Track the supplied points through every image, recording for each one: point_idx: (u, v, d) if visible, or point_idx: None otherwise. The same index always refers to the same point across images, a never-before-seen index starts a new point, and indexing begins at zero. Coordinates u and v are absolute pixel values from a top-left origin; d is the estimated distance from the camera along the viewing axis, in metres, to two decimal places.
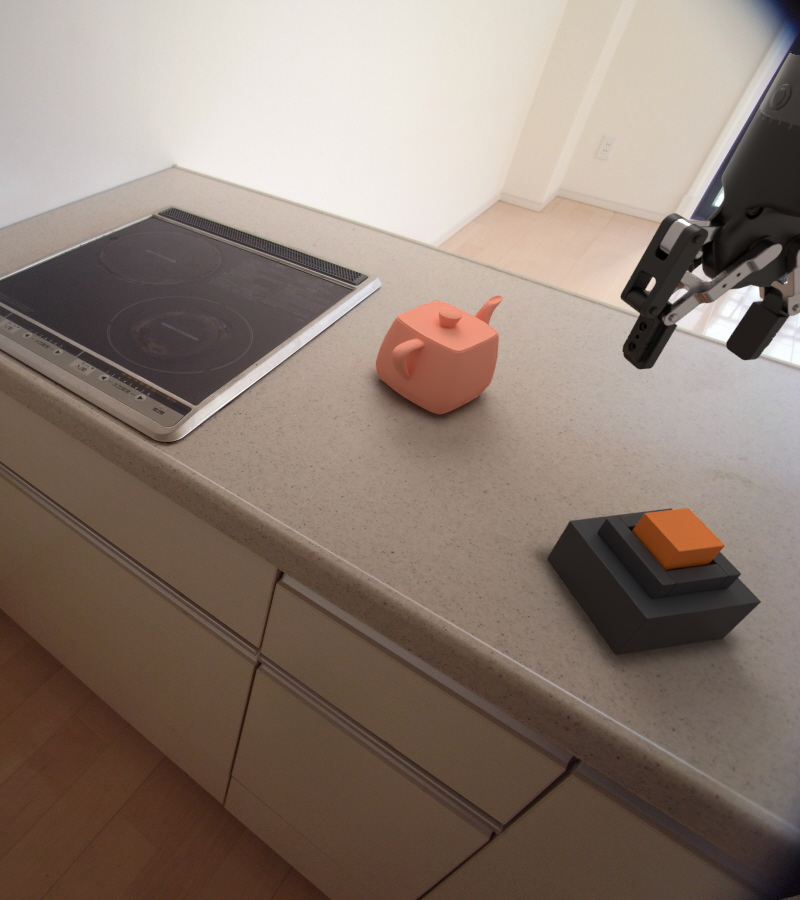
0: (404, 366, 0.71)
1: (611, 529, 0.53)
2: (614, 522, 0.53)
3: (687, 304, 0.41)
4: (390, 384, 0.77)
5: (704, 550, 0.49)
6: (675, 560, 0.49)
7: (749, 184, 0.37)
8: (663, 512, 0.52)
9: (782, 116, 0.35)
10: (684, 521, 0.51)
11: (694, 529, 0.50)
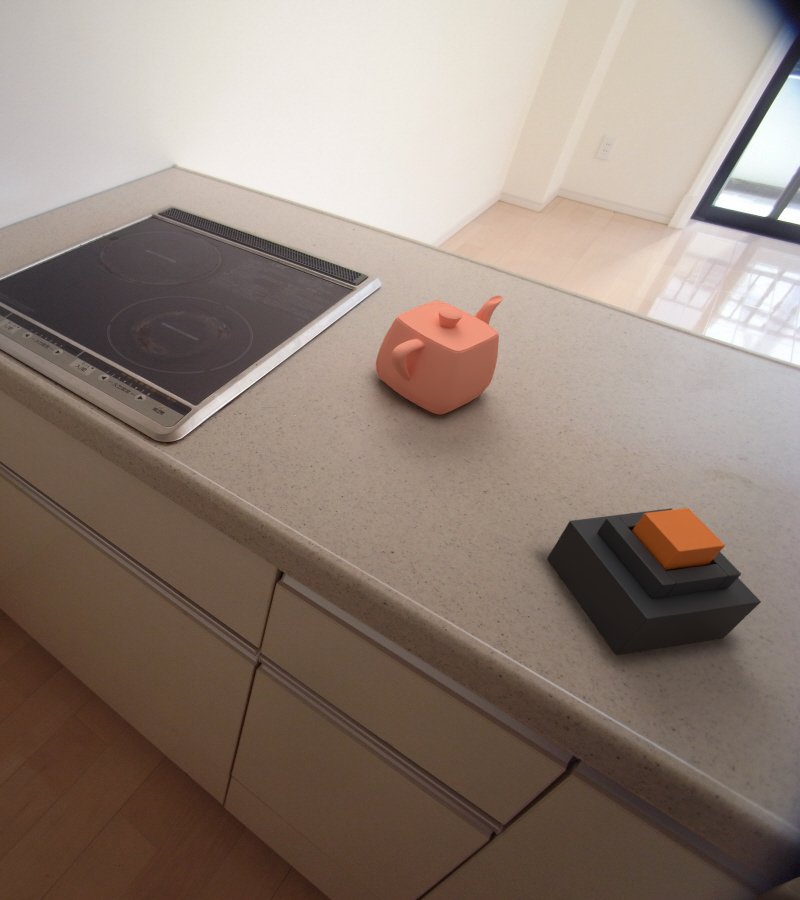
0: (404, 366, 0.71)
1: (611, 529, 0.53)
2: (614, 522, 0.53)
3: None
4: (390, 384, 0.77)
5: (704, 550, 0.49)
6: (675, 560, 0.49)
7: None
8: (663, 512, 0.52)
9: None
10: (684, 521, 0.51)
11: (694, 529, 0.50)
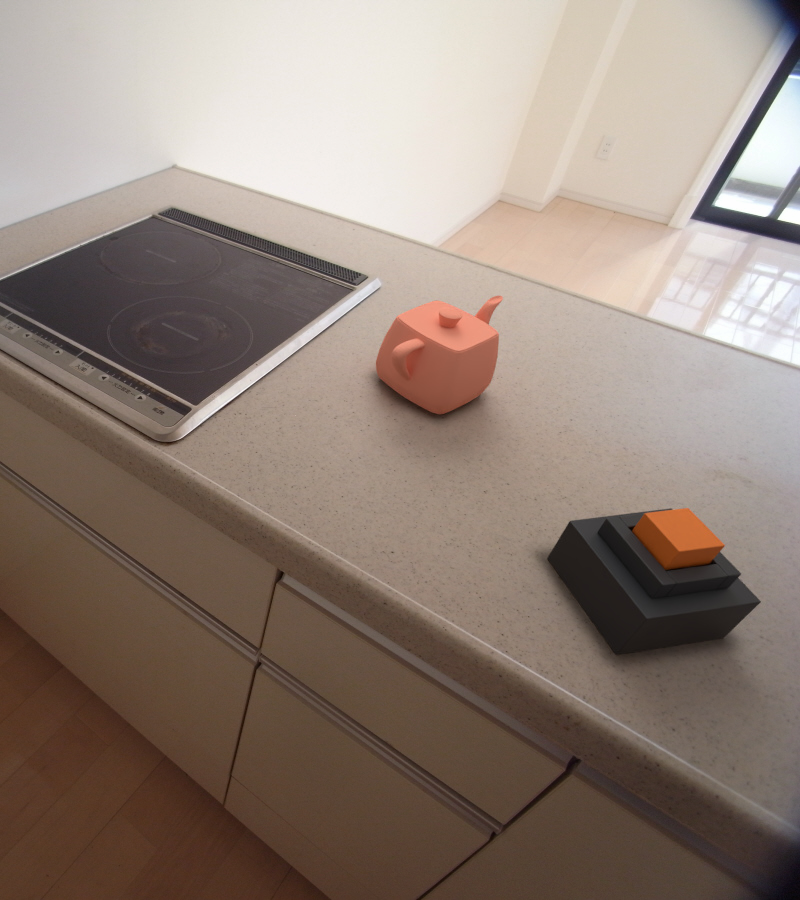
0: (404, 366, 0.71)
1: (611, 529, 0.53)
2: (614, 522, 0.53)
3: None
4: (390, 384, 0.77)
5: (704, 550, 0.49)
6: (675, 560, 0.49)
7: None
8: (663, 512, 0.52)
9: None
10: (684, 521, 0.51)
11: (694, 529, 0.50)
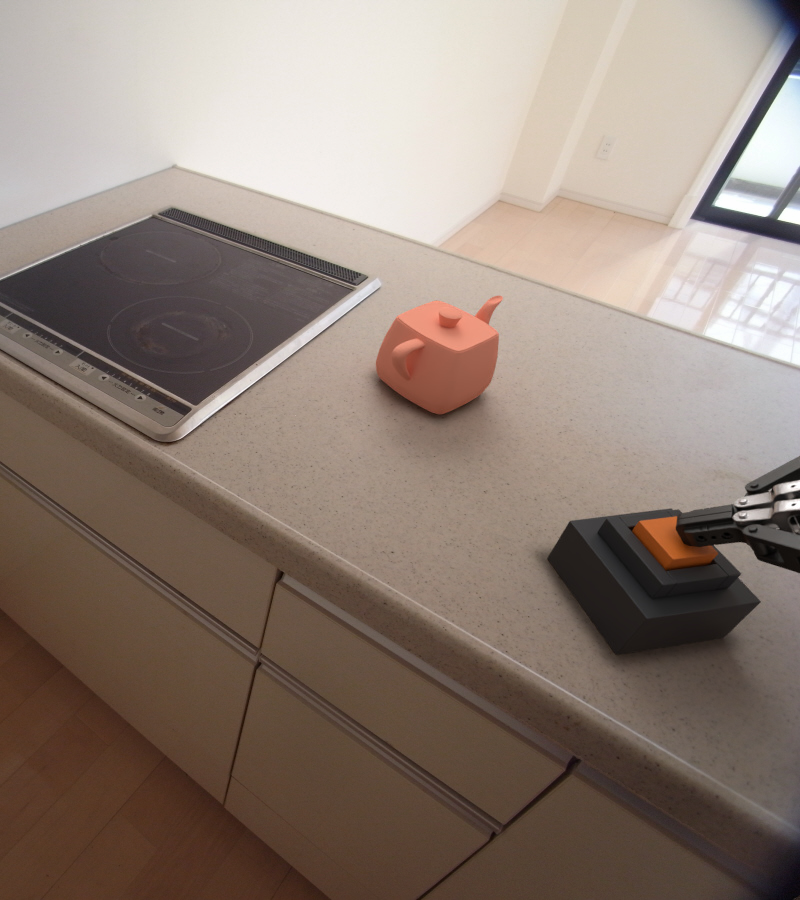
0: (404, 366, 0.71)
1: (611, 529, 0.53)
2: (614, 522, 0.53)
3: (761, 497, 0.47)
4: (390, 384, 0.77)
5: (697, 557, 0.50)
6: (669, 568, 0.50)
7: None
8: (657, 519, 0.52)
9: None
10: None
11: None
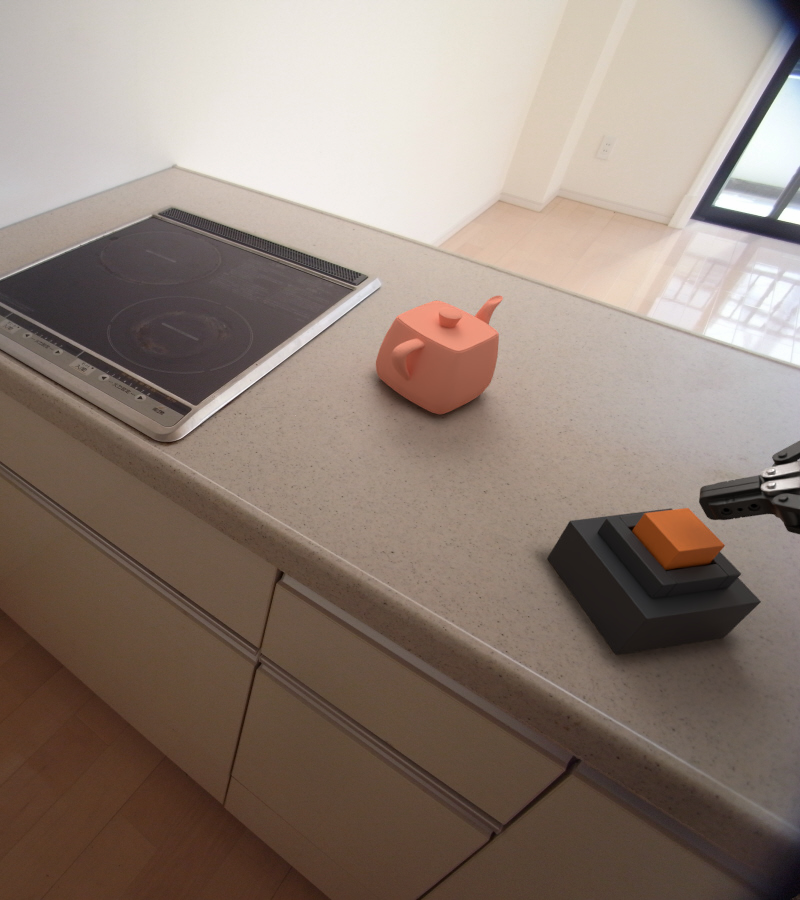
0: (404, 366, 0.71)
1: (611, 529, 0.53)
2: (614, 522, 0.53)
3: (790, 466, 0.45)
4: (390, 384, 0.77)
5: (704, 550, 0.49)
6: (675, 560, 0.49)
7: None
8: (663, 512, 0.52)
9: None
10: (684, 521, 0.51)
11: (694, 529, 0.50)
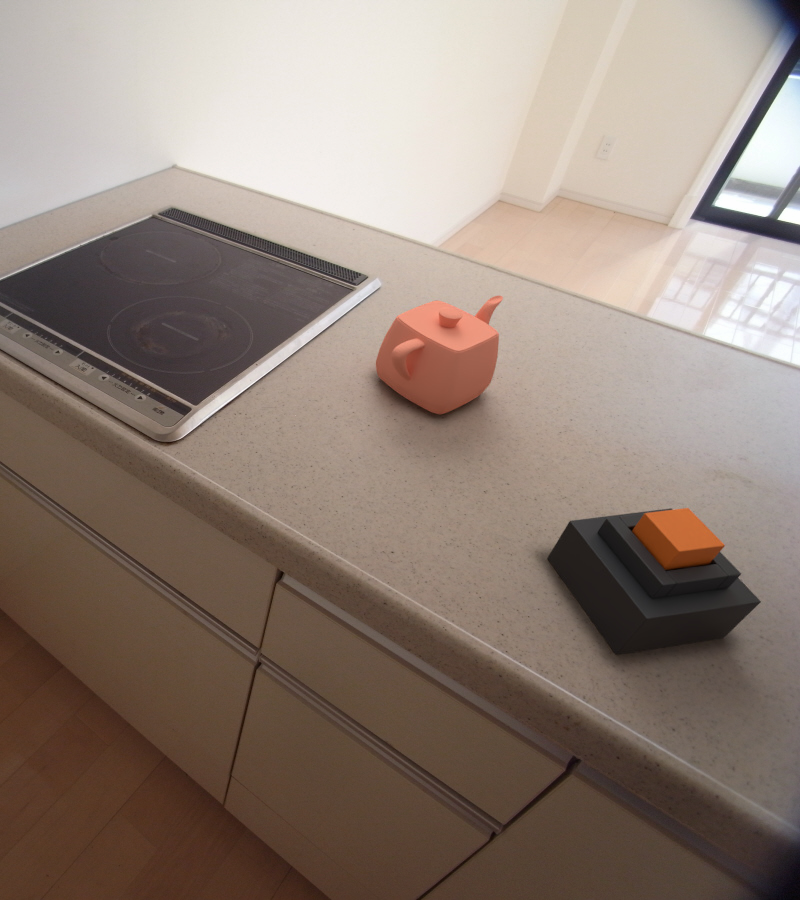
0: (404, 366, 0.71)
1: (611, 529, 0.53)
2: (614, 522, 0.53)
3: None
4: (390, 384, 0.77)
5: (704, 550, 0.49)
6: (675, 560, 0.49)
7: None
8: (663, 512, 0.52)
9: None
10: (684, 521, 0.51)
11: (694, 529, 0.50)
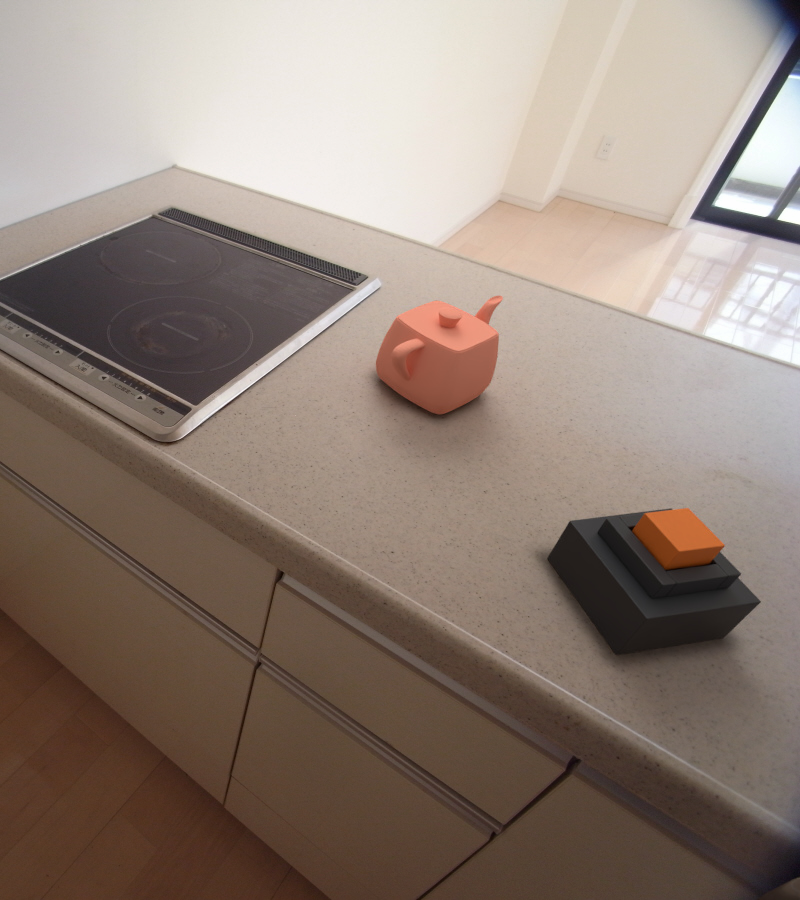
0: (404, 366, 0.71)
1: (611, 529, 0.53)
2: (614, 522, 0.53)
3: None
4: (390, 384, 0.77)
5: (704, 550, 0.49)
6: (675, 560, 0.49)
7: None
8: (663, 512, 0.52)
9: None
10: (684, 521, 0.51)
11: (694, 529, 0.50)
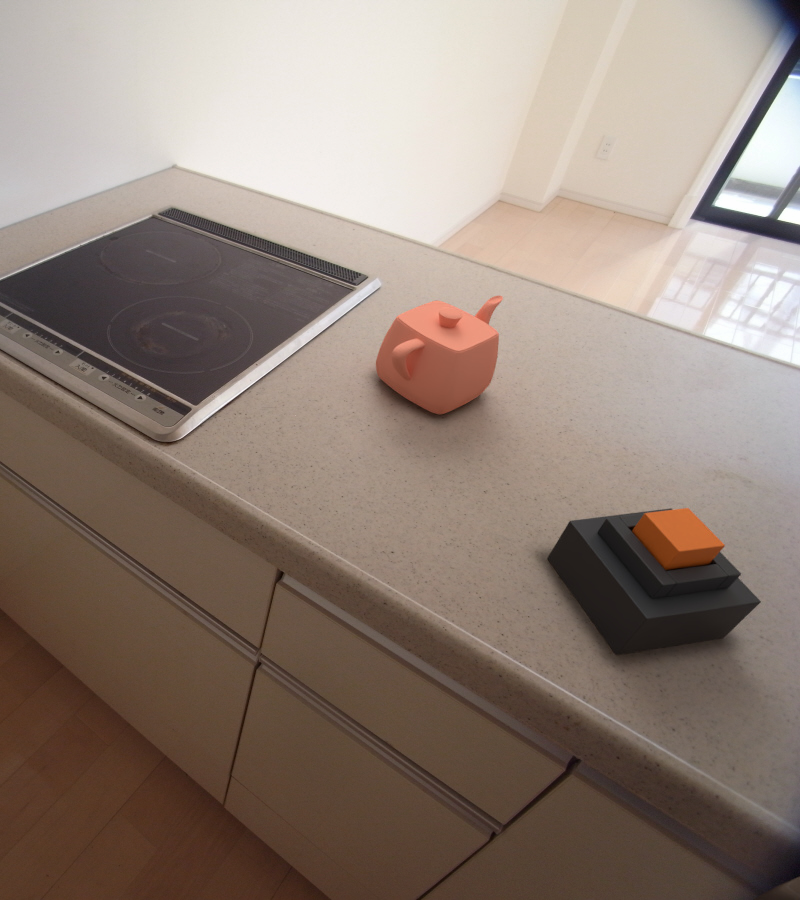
0: (404, 366, 0.71)
1: (611, 529, 0.53)
2: (614, 522, 0.53)
3: None
4: (390, 384, 0.77)
5: (704, 550, 0.49)
6: (675, 560, 0.49)
7: None
8: (663, 512, 0.52)
9: None
10: (684, 521, 0.51)
11: (694, 529, 0.50)
